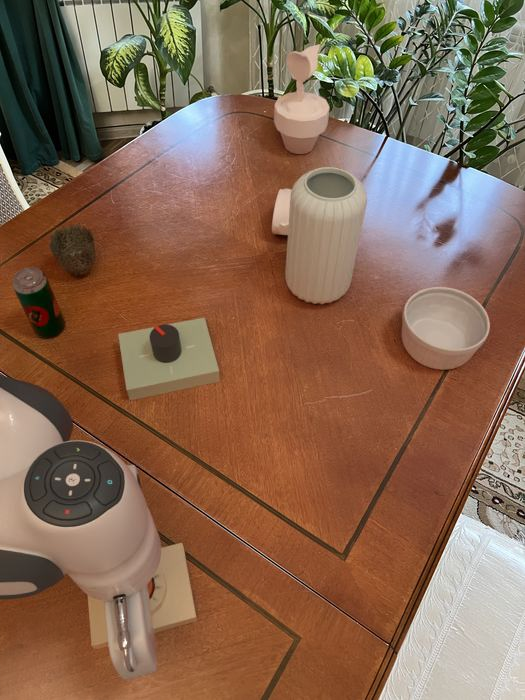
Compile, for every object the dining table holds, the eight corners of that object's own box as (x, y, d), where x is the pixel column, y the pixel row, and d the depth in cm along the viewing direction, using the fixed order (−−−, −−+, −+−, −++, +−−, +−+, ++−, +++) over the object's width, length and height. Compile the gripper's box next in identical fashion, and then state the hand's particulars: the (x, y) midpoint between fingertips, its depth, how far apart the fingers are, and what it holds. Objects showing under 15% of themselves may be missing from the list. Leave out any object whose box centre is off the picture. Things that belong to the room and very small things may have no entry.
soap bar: (320, 251, 107) (324, 218, 101) (271, 244, 108) (272, 210, 102) (328, 211, 114) (333, 177, 108) (282, 204, 115) (284, 170, 109)
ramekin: (386, 361, 92) (395, 334, 86) (405, 304, 99) (414, 276, 94) (469, 387, 89) (483, 361, 84) (482, 327, 97) (495, 299, 91)
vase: (339, 319, 97) (358, 215, 80) (275, 301, 100) (280, 196, 82) (356, 274, 104) (377, 169, 86) (296, 258, 106) (305, 152, 88)
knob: (187, 352, 89) (184, 334, 85) (165, 368, 87) (161, 350, 83) (169, 335, 91) (166, 318, 87) (147, 351, 89) (143, 333, 85)
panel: (129, 400, 87) (126, 389, 84) (121, 345, 93) (117, 333, 91) (219, 381, 89) (219, 370, 87) (205, 328, 96) (204, 316, 93)
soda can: (70, 331, 95) (50, 280, 85) (41, 344, 93) (17, 294, 83) (58, 312, 97) (37, 260, 88) (30, 324, 95) (5, 273, 86)
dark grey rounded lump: (66, 256, 105) (54, 222, 99) (106, 258, 105) (96, 224, 99) (56, 286, 101) (42, 252, 94) (97, 287, 101) (87, 254, 94)
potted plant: (308, 169, 123) (319, 50, 103) (263, 151, 126) (265, 32, 106) (336, 141, 129) (352, 24, 109) (292, 124, 133) (299, 8, 113)
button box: (95, 649, 66) (87, 643, 63) (89, 572, 72) (81, 562, 68) (197, 621, 68) (194, 613, 65) (184, 547, 74) (181, 537, 70)
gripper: (162, 656, 50) (178, 679, 61) (133, 450, 62) (151, 501, 73) (88, 677, 49) (119, 696, 60) (73, 464, 61) (101, 513, 72)
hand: (136, 588), depth 66 cm, fingers closed, pressing on button
